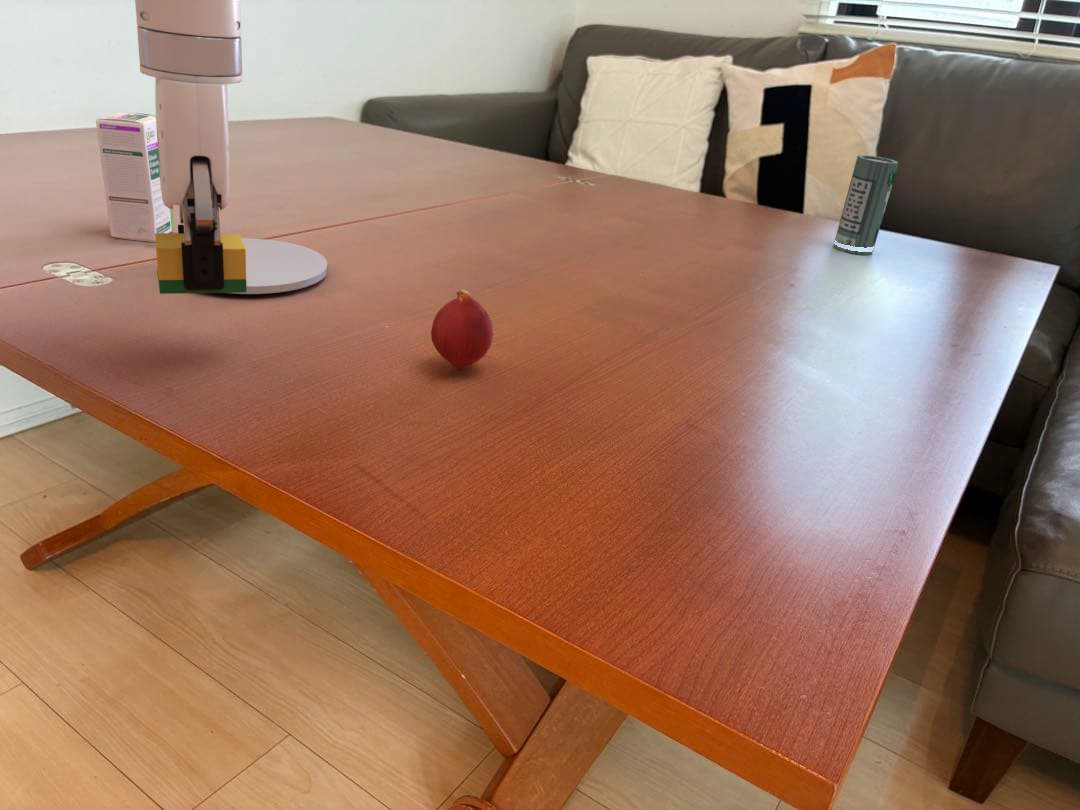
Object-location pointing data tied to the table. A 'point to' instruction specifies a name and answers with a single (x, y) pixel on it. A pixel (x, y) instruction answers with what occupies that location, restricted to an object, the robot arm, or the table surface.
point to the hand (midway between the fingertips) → (201, 276)
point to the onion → (462, 331)
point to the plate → (280, 266)
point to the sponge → (173, 267)
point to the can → (866, 202)
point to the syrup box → (132, 176)
